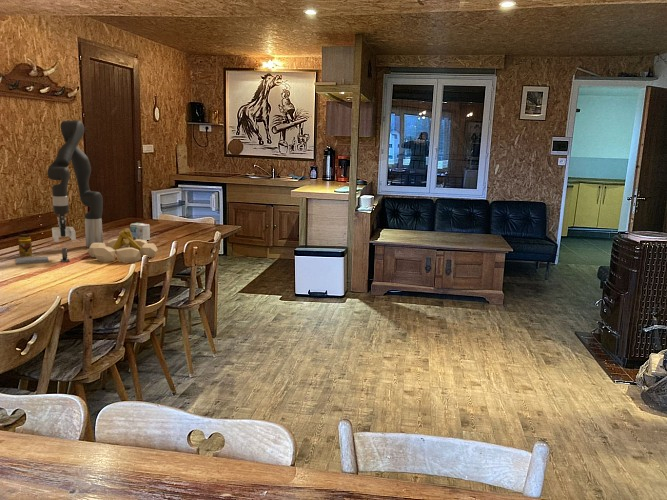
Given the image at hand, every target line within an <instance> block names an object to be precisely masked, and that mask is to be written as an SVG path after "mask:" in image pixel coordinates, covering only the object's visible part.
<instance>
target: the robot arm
mask: <svg viewBox="0 0 667 500" xmlns="http://www.w3.org/2000/svg"><path fill="white" fill-rule="evenodd" d="M60 130H61V131H60V133H61V135H62V137H63V140H64V142H65V143H64V144H63V145H62V146H61V147H60V148H59V149H58V151H57V154H56V156H55V159H54V161H52V163H51V164H50V166H49V167H48V168H47V177H48V178H49V180H52V181H60V183H58V184H53V185H52V209H53V214H55V215H58V216H56V217H57V224H58V227H60V231H61V237H60V238H64V237H65V229H66V227H67V226H66V225H67V221H66V220H67V216H66V215H65V214H69V213H70V208H69V207H70V206H69V197H68V184H69V181H70V177H71V176H70V175H71V172H70V170H69V168H68V167H69V166H70V164H71V165H72V168H73V172H74V175H75V179H76V182H77V187H78V191H79V198H80V201H81V203H82V205H83V206H84V207H89V208H90V210H89V211H88V212H86V213H85V214H84V226H85V227H84V229H85V231H84V232H85V246H86V248H90V246H91V244H92V243H104V233H103V232H104V231H103V222H102V221H103V219H102V217H103V216H102V215H103V211H104V209H103V207H104V199H103V198H104V197H103V195H102V194H101V192H99V191H93V190H92V191H91V189H90V184H89V183H90V182H89V180H90V177H91V172H92V167H91V166H92V165H91V162H90V159H89V157H88V155H86V153H85V152H84V151H83V150H82V149H81V148H80V147H79V146H78V145H79V143H80V141H81V140H82V138H83V137H84V134H85V126H84V123H83V122H82V121H81V120H79V119H78V120H77V119H76V120H75V119H74V120H62V121H61V122H60Z"/></svg>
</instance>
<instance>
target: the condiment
mask: <svg viewBox="0 0 667 500" xmlns="http://www.w3.org/2000/svg"><path fill="white" fill-rule="evenodd" d="M32 246H33V245H32V239H31V234H29V233H21V234H19V235H18V251H19V252H18V253H19V254H15V257H17V258H30V257H33V256H34V257H35V254H33V247H32Z"/></svg>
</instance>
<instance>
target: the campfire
mask: <svg viewBox="0 0 667 500" xmlns="http://www.w3.org/2000/svg"><path fill="white" fill-rule="evenodd" d="M158 250H159V249H158V247H157V246H156V244H155V243H154V242H153V243H150V242H149V243H148V241H146V240H141V239H137V240H133V237H132V234H131V231H130V228H129V227H123V229H122V230H120V231H119V232H118V237H117V238H112V239H110V240H108V241H107V242H106V243H105V242H103V243H92V244H91V246H90V247H88V249H87V250H86V251H87V253H88V255H89V256H90V258H93V259H94V258H95V259H96V260H97V261H98V262H102V263H110V262H113V261H116V259H117V260H118V261H120V262H121V263H123V264H129V263H130V264H133V263H137V262H140V261H141V260H142V257H143V255H148V256H149V257H152V258H153V257H155V255H156V253H157V252H158Z"/></svg>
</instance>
